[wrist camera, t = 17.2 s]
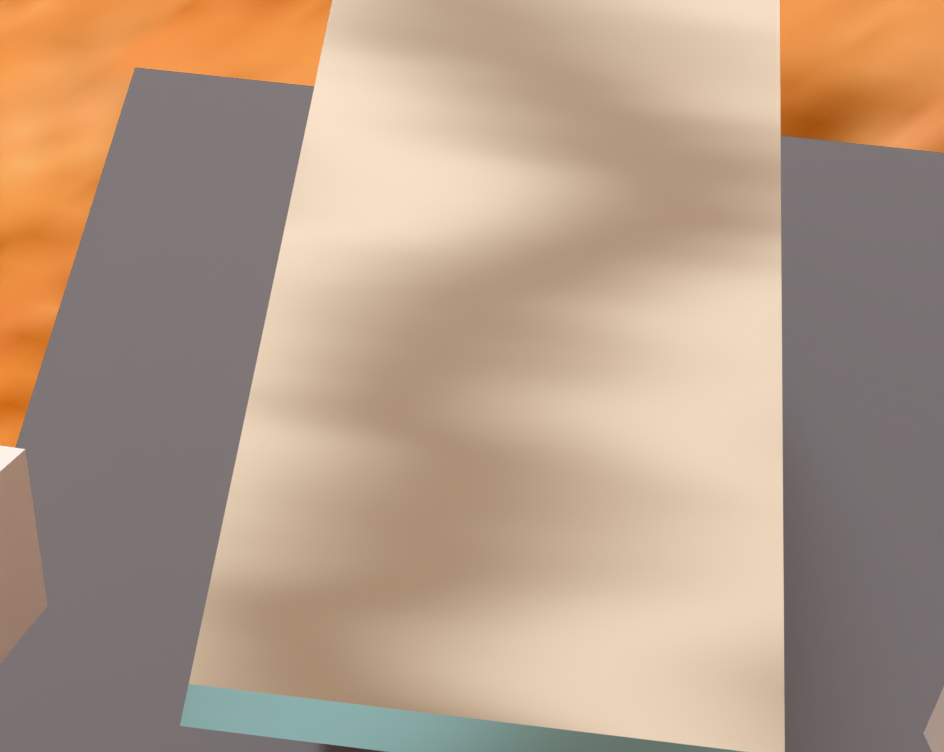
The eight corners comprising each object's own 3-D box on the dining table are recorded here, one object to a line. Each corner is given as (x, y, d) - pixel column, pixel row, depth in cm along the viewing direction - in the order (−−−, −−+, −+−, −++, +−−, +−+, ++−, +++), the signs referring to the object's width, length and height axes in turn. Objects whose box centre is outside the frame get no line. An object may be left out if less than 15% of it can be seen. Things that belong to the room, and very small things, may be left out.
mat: (964, 165, 21) (973, 156, 20) (1026, 1011, 15) (1040, 1020, 15) (141, 78, 22) (135, 67, 21) (-98, 844, 16) (-112, 848, 15)
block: (778, -120, 12) (784, 801, 8) (664, 184, 20) (638, 748, 16) (364, -153, 13) (179, 726, 9) (405, 159, 20) (316, 708, 16)
